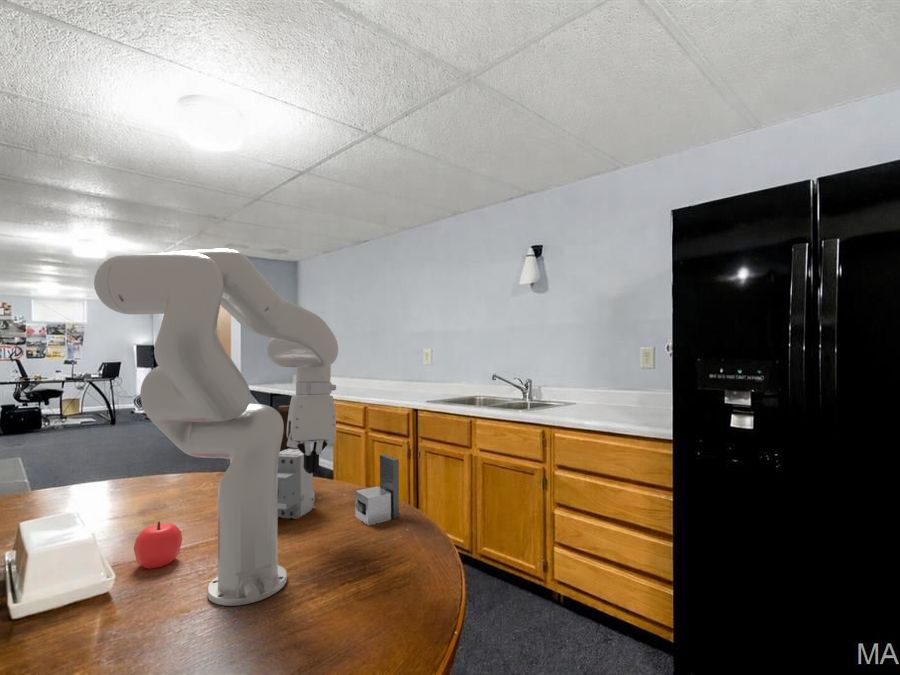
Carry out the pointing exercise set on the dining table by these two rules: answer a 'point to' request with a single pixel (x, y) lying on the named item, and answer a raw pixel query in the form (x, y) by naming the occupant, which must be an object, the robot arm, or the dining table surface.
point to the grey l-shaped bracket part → (388, 483)
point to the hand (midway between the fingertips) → (311, 472)
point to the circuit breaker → (294, 485)
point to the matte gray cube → (373, 505)
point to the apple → (158, 545)
